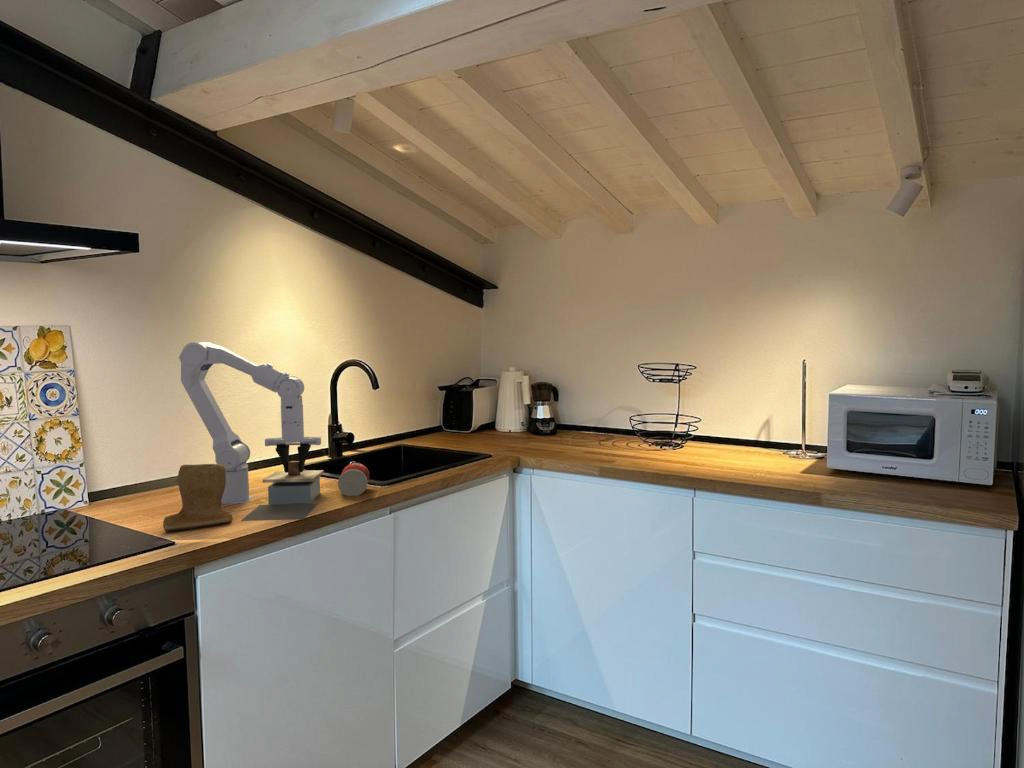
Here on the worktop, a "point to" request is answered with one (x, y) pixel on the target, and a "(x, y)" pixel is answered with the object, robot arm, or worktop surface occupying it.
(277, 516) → the rubber mat
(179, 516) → the brown flared stand
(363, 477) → the canned food
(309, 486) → the gray lidded box
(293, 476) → the birch lid
